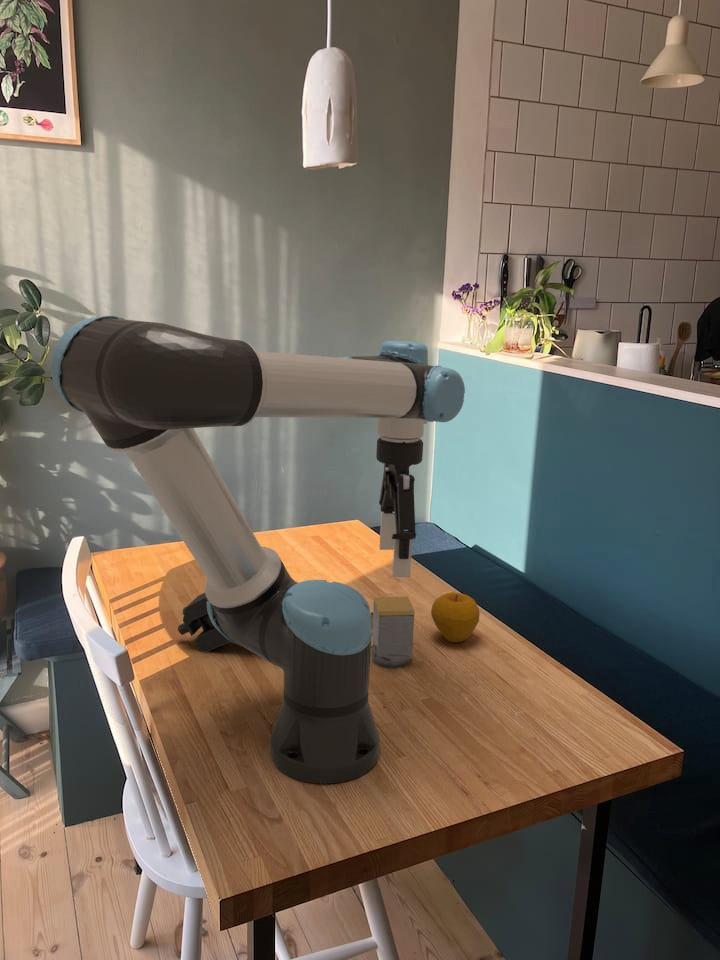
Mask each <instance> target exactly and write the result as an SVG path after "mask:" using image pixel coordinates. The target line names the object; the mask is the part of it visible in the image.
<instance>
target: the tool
mask: <svg viewBox="0 0 720 960" xmlns="http://www.w3.org/2000/svg"><path fill="white" fill-rule="evenodd" d="M207 601H208V599H207V597H206V594H205V592H203V593H201V594H199V595H197V596H196V597H195V598H194V599H193V600H192V601H191V602H190V603H188V605H186V606H184V607H183V608H182V615H183V618H182V622H183V623H181V624H179V625H178V627H177V631H178V632H179V634H180V635H185V634H188V633H189V634H190V636H191V637H192V636H194V635H195V634H196V633H197V632H198V631H199V630H200V629H202V631H201V632H200V633H199V634H198V635H197V637H196V638H195V639H194V643H195V644H196V646H197V648H198V649H199V650H200V651H201V652H204V653H207V652H210V651H211V650H214V649H217V648H219V647H222V646H224V645H226V644H227V645H228V644H229V643H232V642H231V641H230V640H228V639H227V638H225V637H224V636H223V635H222V634H221V633H220V632H219V631H218V630H217V629H216V628H215V627H214V625H213V624H212V622H211V620H210V618H209V615H208V611H207Z"/></svg>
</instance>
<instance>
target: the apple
mask: <svg viewBox="0 0 720 960" xmlns="http://www.w3.org/2000/svg"><path fill="white" fill-rule="evenodd" d="M430 615H431V618H432V620H433V622H434V624H435V627H436V628H437V629H438V631H439V633H440V634H441V636H443V637H444V639H445V640H447V641H449V642H451V643H462V642H465V641H466V640H467V639H468V638H469V637H470V636H471V635H472V633H473V632H474V631H475V629H476V627H477V625H478V624H479V622H480V609H479V607H478V603H477V602H476V600H475V599H474V598H472V597H470V596H469V595H467V594H464V593H460V592H455V591H453V592H452V591H451V592H447V593H446V592H445V593H444V594H442V595H440V596H439V597H437V598H436V599H435V600H434V602H433V604H432V607H431V609H430Z"/></svg>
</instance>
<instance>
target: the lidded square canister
mask: <svg viewBox="0 0 720 960" xmlns="http://www.w3.org/2000/svg"><path fill="white" fill-rule="evenodd" d="M372 607H373V629H372V637H371V643H372V645H374V648H375V651H376V654H377V657H382V656H410V655H412V656H413V652H414V650H413V649H414V631H415V628H414V627H415V608H414V607H413V604H412V602H411V600H410V598H409V596H382V597H381V596H380V597H379V596H378V597H373V606H372Z"/></svg>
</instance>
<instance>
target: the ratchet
mask: <svg viewBox="0 0 720 960" xmlns="http://www.w3.org/2000/svg"><path fill="white" fill-rule="evenodd" d="M370 618H371V625H372V630H373V612H372V611H370ZM412 656H413V654H412V655H410V656H382V657H377V654H376V651H375V648H374V645H373V644H371V654H370V660H371V661H372V663H373V664H375V665H377V666H379V667H383V668H387V669H400V668H405V667H406V666H408V665H410V664H411V662H412V659H413V657H412Z"/></svg>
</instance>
